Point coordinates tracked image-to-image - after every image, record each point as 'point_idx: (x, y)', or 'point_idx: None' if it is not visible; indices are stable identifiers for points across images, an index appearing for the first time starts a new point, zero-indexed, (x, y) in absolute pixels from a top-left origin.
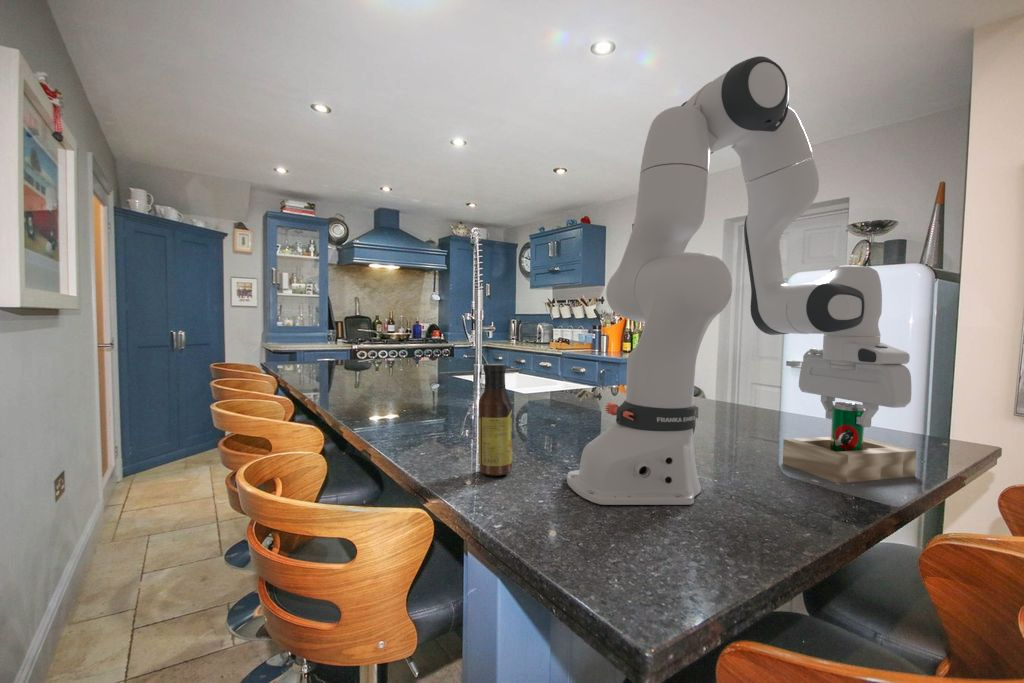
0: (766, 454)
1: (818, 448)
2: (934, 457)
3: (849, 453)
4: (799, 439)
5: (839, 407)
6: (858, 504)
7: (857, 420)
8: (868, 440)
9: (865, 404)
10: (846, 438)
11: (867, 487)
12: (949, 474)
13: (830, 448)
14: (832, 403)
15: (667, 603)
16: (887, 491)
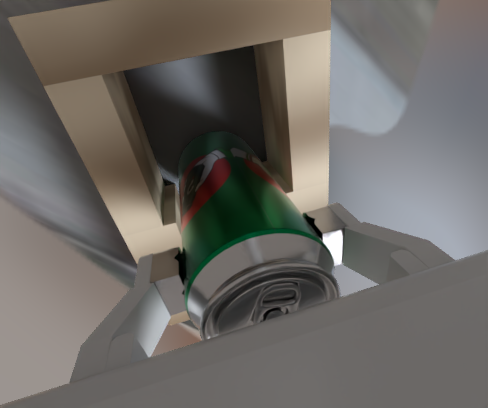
0: (385, 12)
1: (152, 21)
2: None
3: (82, 115)
4: (311, 54)
5: (256, 251)
6: None
7: (172, 261)
8: None
9: (107, 370)
10: (190, 183)
11: (49, 113)
12: (197, 332)
13: (248, 148)
14: (381, 281)
15: None
16: (24, 148)
